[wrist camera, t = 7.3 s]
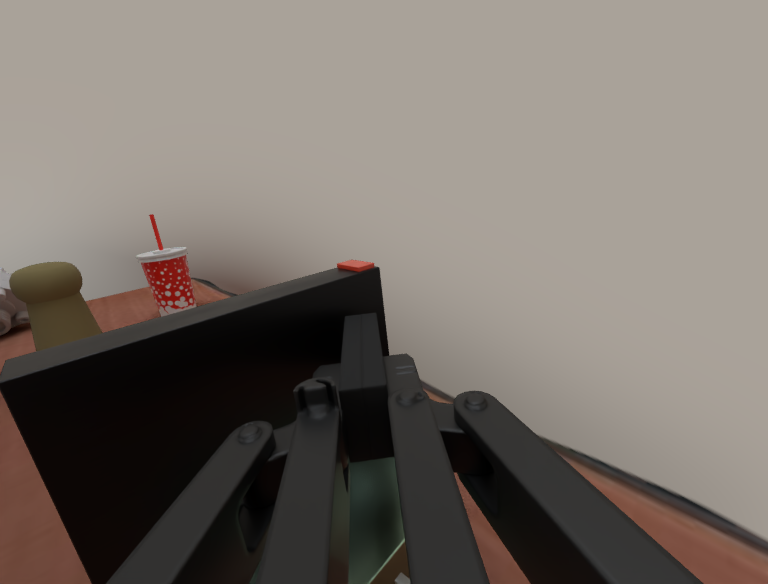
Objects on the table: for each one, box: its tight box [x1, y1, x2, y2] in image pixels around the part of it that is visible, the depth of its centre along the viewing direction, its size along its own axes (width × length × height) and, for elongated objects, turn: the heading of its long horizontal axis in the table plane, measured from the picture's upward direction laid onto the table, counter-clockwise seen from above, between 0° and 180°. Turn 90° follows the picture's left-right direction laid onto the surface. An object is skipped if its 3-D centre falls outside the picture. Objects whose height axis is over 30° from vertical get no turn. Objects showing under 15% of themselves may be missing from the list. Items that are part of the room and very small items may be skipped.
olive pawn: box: [9, 262, 102, 352], centre depth 37 cm, size 6×6×11 cm
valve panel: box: [249, 455, 411, 584], centre depth 18 cm, size 18×18×2 cm
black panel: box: [0, 260, 389, 584], centre depth 16 cm, size 14×2×9 cm, turn 131°
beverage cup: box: [136, 215, 196, 317], centre depth 51 cm, size 6×6×14 cm
